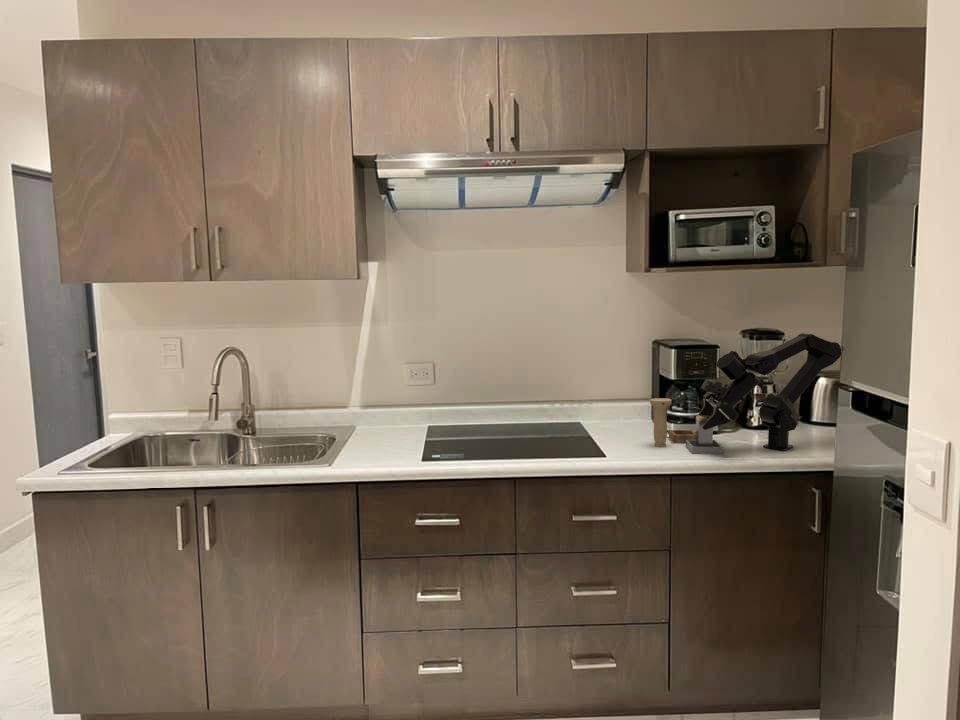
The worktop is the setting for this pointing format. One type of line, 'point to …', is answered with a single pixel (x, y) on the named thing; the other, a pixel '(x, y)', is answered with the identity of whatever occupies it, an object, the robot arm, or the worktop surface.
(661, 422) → the handle
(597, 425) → the worktop surface
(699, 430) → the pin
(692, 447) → the tray
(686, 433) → the holder
